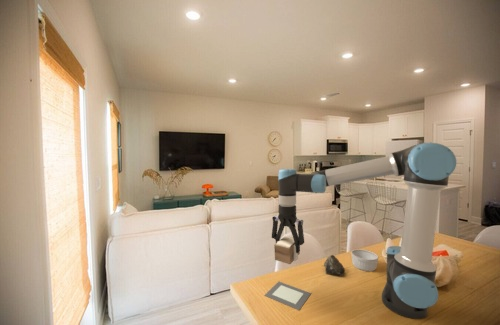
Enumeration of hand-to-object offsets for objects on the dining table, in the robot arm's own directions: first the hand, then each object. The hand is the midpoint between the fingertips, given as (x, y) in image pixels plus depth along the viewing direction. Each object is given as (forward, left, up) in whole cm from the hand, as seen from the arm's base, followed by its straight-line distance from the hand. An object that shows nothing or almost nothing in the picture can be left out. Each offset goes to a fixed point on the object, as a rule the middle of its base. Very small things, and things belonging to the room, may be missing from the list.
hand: (287, 257), depth 95 cm
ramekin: (-23, -47, -17) cm, 55 cm away
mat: (0, 0, -17) cm, 17 cm away
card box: (0, 0, 0) cm, 0 cm away
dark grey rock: (-11, -31, -17) cm, 37 cm away
